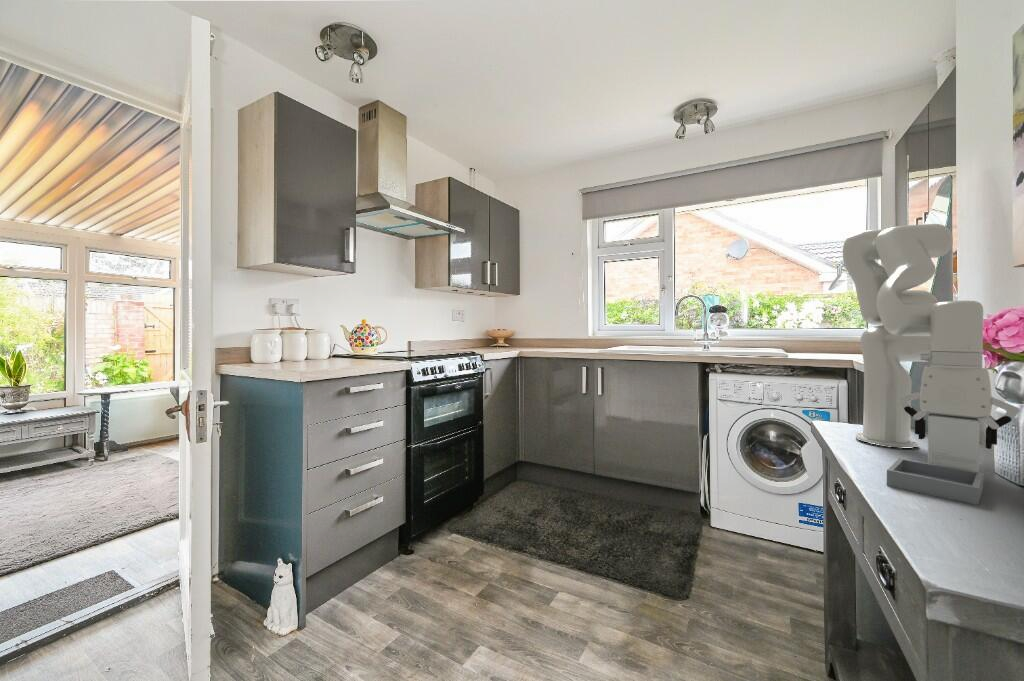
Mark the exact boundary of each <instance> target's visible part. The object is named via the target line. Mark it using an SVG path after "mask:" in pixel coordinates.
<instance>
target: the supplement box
mask: <svg viewBox="0 0 1024 681" xmlns="http://www.w3.org/2000/svg"><path fill="white" fill-rule="evenodd" d="M927 423H928V424H927V426H928V427H927V437H928V438H927V440H928V441H927V444H928V445H927V447H928V448H927V463H929V464H934V465H940V466H946V467H951V468H957V469H963V470H968V471H974V472H979V473H980V441H981V440H980V439H981V438H980V436H981V434H980V433H981V422H980V420H979V418H969V417H959V416H949V415H940V414H932V413H928V416H927Z"/></svg>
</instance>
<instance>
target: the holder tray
mask: <svg viewBox="0 0 1024 681" xmlns="http://www.w3.org/2000/svg"><path fill="white" fill-rule="evenodd" d="M886 486H888V487H892V488H893V487H894V488H898V489H902V490H906V491H911V492H912V491H913V492H916V493H920V494H925V495H930V496H935V497H938V498H939V497H940V498H944V499H948V500H952V501H957V502H962V503H966V504H969V505H970V504H971V505H977V506H979V504H980V500H981V497H982V494H983V491H984V490H983V489H984V472H980V471H979V472H974V471H968V470H963V469H957V468H951V467H946V466H940V465H934V464H929V463H928V462H923V461H917V460H911V459H905V458H901V457H900V458H899V457H898V459H897V460H895V461H894V463H893V464H892V465H890V466H889V467H888V469H886Z"/></svg>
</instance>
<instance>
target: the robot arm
mask: <svg viewBox="0 0 1024 681" xmlns="http://www.w3.org/2000/svg"><path fill="white" fill-rule="evenodd" d="M953 239H954V237H953V234H952V231H951V230H950V229H949V228H948V227H947V226H946V225H943V224H939V223H927V224H926V223H925V224H913V225H912V224H908V225H898V226H892V227H890V228H884V229H883V228H881V229H879V228H878V229H869V230H862V231H858V232H856V233H855V232H854V233H853V234H850V235H849V236H847V238H846V239H845V241H844V243H843V247H842V259H843V263H844V266H845V268H846V271H847V273H848V274H849V276H850V278H851V279H852V281H853V284H854V286H855V292H856V297H857V301H858V305H859V306H858V307H859V310H860V314H861V316H862V319H863V321H864V322H866V323H868V324H871V325H877V326H872V327H869V328H867V329H865V330H864V331H863V332H862V334H861V336H860V341H859V342H860V349H861V354H862V359H863V361H862V362H863V378H864V379H863V410H862V411H863V413H862V414H863V418H862V419H863V420H862V422H863V423H862V432H858V433H856V434H855V439H856V438H858V439H860V440H862V441H866V442H870V443H875V444H879V445H885V446H891V447H917V446H918V447H919V442H918V441H917V440H914V439H911V420H912V419H913V420H914V434H915V435H918V440H924V439H925V438H926V430H927V429H926V426H927V425H926V424H927V423H926V422H927V421H926V420H925V416H926V415H929V413H932V414H940V415H949V416H959V417H969V418H978V419H980V420H982V422H984V423H985V424H986V425H987V427H986V428H985V448H986V449H990V450H991V449H992V448H993V445H994V446H997V445H998V429H999V428H1001V427H1003V426H1005V425H1007V424H1009V423H1010V422H1011V421H1012V420H1013V419H1014V418H1015V417H1016V416H1017V415H1018V414H1019V413H1020V411H1021V410H1020V408H1019V407H1017V406H1015V405H1013V404H1010V403H1008V402H1005V401H1003V400H1002V399H1000V398H996V397H994V396H992V385H991V379H990V378H991V377H990V374H989V373H990V372H989V371H988V368H983V355H984V354H983V352H984V351H983V350H984V349H983V348H984V347H983V346H984V344H983V343H984V307H983V304H982V303H981V302H979V301H975V300H948V301H947V300H946V301H945V300H944V301H938V299H937V298H936V296H935V295H933V293H931V292H929V291H927V290H923V289H922V290H921V289H913V288H916V287H919V286H921V285H923V284H926V283H927V282H928V281H929V280H930V279H932V278H933V277H934V276H935V274H936V270H937V269H936V266H935V263H934V262H933V260H932V258H933V259H934V258H941V257H943V256H945V255H946V254H948V253H949V252H950V250H951V248H952V246H953V243H954V242H953V241H954V240H953ZM878 260H879V261H881V264H879V263H878V262H877V261H878ZM900 362H902V363H903V362H904V363H905V362H909V363H910V362H916V363H918V362H919V363H925V362H927V363H928V364H929V365H925V366H924V368H923V371H922V376H921V381H920V390H919V391H918V392H914V393H912V378H911V374H909V372H908V371H907V370H906V368H904V366H903V365H902V364H901V363H900ZM918 399H919V409H920V410H919V411H917V409H914V407H912V401H915V400H918ZM992 406H995V407H998V408H1000V409H1002V410H1005V412H1006V413H1004V414H1003V416H1001V417H999V418H997V419H995V418H994V417H993V416H992V415H991V413H992V409H993V408H992ZM911 418H912V419H911ZM918 447H917V448H918Z"/></svg>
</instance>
